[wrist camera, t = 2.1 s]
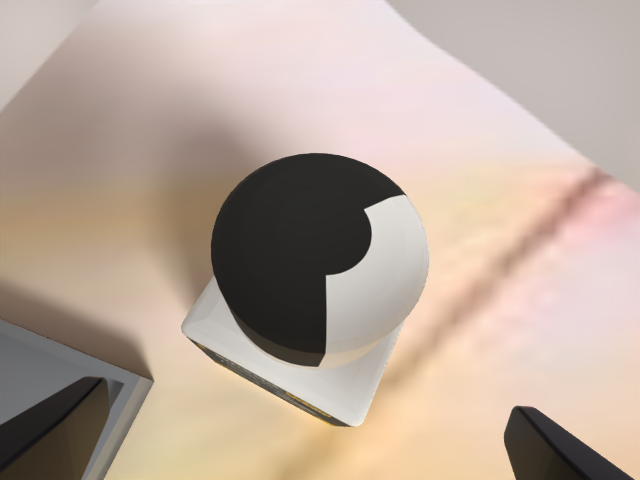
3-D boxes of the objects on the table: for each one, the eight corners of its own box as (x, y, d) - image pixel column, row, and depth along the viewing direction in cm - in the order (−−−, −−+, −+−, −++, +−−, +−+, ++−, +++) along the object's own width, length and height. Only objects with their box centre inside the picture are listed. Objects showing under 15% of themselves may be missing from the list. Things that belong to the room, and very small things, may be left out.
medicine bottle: (210, 359, 20) (121, 283, 9) (278, 246, 23) (272, 88, 12) (336, 429, 19) (400, 434, 8) (391, 302, 22) (491, 185, 11)
